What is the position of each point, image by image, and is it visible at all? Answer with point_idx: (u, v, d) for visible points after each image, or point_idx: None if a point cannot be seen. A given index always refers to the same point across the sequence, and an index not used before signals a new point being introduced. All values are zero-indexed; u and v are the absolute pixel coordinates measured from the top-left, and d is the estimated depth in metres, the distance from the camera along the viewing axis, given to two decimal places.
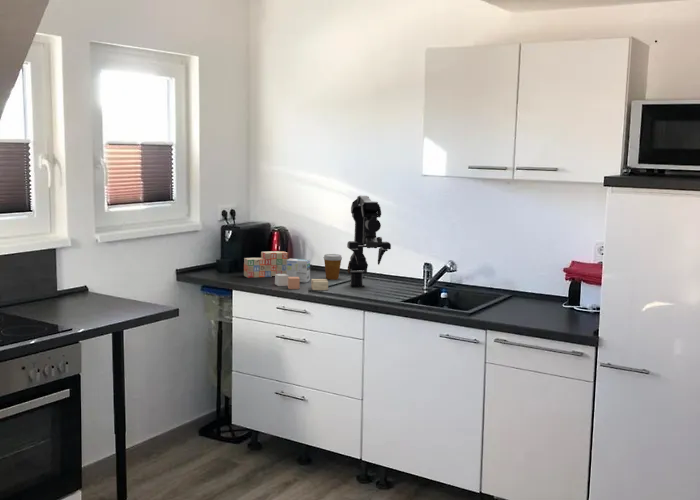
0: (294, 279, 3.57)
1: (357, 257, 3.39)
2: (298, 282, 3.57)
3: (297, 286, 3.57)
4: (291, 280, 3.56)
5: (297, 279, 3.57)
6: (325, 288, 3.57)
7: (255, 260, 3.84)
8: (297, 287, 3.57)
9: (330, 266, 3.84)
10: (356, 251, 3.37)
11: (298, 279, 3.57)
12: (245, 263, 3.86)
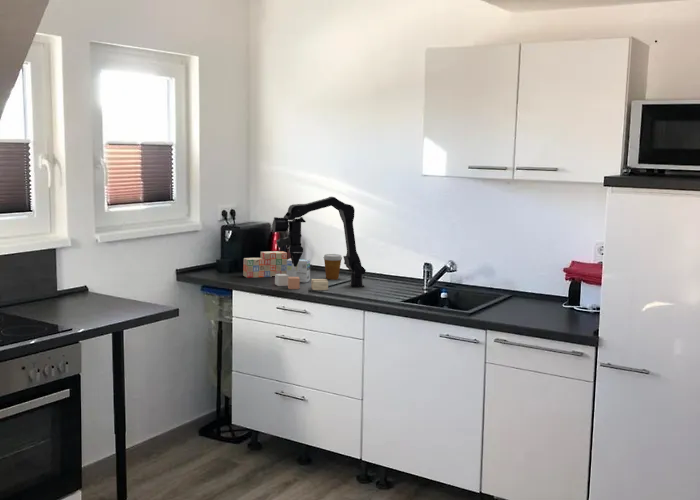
0: (294, 279, 3.57)
1: None
2: (298, 282, 3.57)
3: (297, 286, 3.57)
4: (291, 280, 3.56)
5: (297, 279, 3.57)
6: (325, 288, 3.57)
7: (254, 260, 3.84)
8: (297, 287, 3.57)
9: (330, 266, 3.84)
10: (288, 250, 3.63)
11: (298, 279, 3.57)
12: (244, 263, 3.86)
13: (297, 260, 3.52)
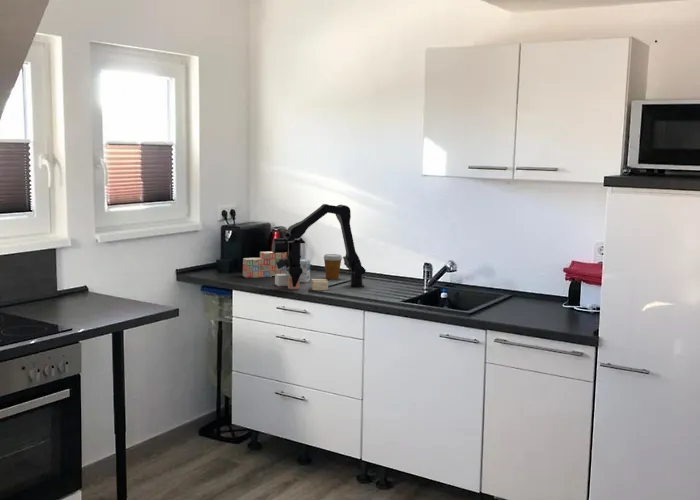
0: None
1: None
2: (298, 282, 3.57)
3: (297, 286, 3.57)
4: (291, 280, 3.56)
5: None
6: (325, 288, 3.57)
7: (254, 260, 3.84)
8: (297, 287, 3.57)
9: (330, 266, 3.84)
10: (288, 271, 3.62)
11: None
12: (244, 263, 3.86)
13: (296, 280, 3.56)
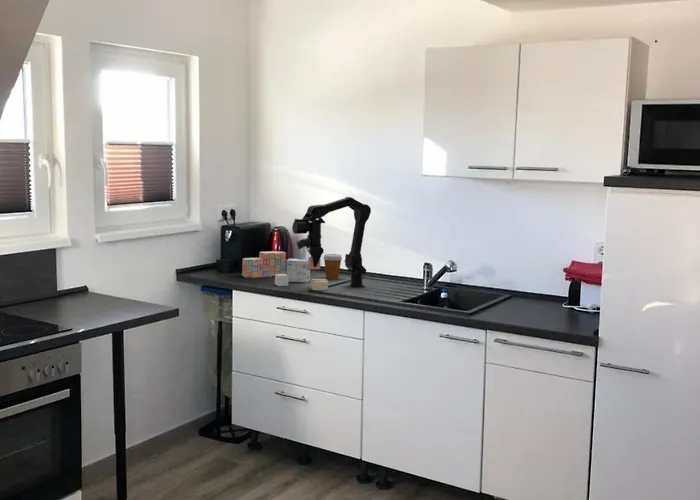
0: None
1: None
2: (319, 262, 3.56)
3: (318, 266, 3.56)
4: (312, 260, 3.55)
5: None
6: (325, 288, 3.57)
7: (253, 260, 3.84)
8: (318, 267, 3.56)
9: (330, 266, 3.84)
10: (308, 251, 3.61)
11: None
12: (243, 263, 3.86)
13: (317, 260, 3.55)
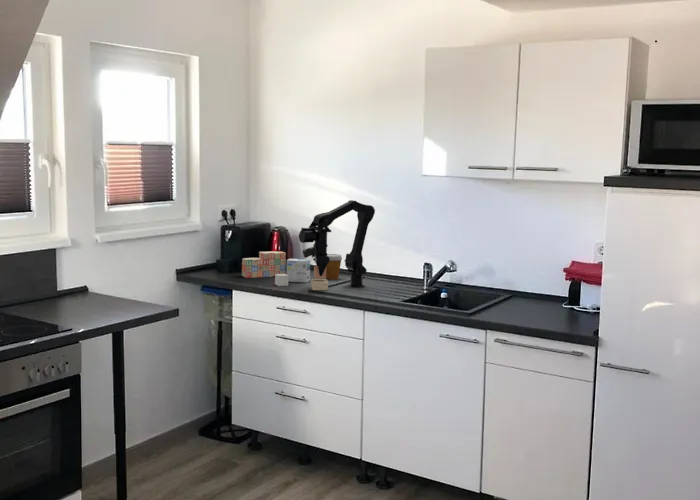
0: None
1: None
2: (325, 271, 3.57)
3: (324, 275, 3.57)
4: (318, 269, 3.56)
5: None
6: (325, 288, 3.57)
7: (253, 260, 3.84)
8: (324, 276, 3.57)
9: (330, 266, 3.84)
10: (314, 260, 3.62)
11: (325, 268, 3.56)
12: (243, 263, 3.86)
13: (323, 269, 3.55)
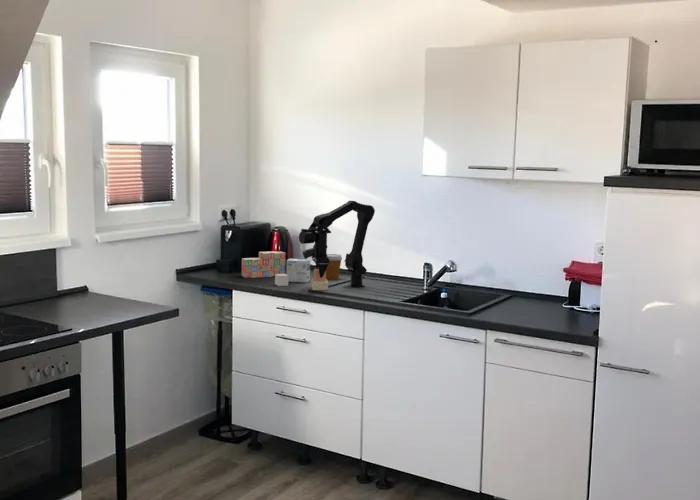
0: None
1: (316, 267, 3.63)
2: (324, 274, 3.57)
3: (323, 278, 3.57)
4: (317, 272, 3.56)
5: None
6: (325, 288, 3.57)
7: (253, 260, 3.84)
8: (323, 279, 3.57)
9: (330, 266, 3.84)
10: None
11: None
12: (243, 263, 3.85)
13: (323, 271, 3.53)
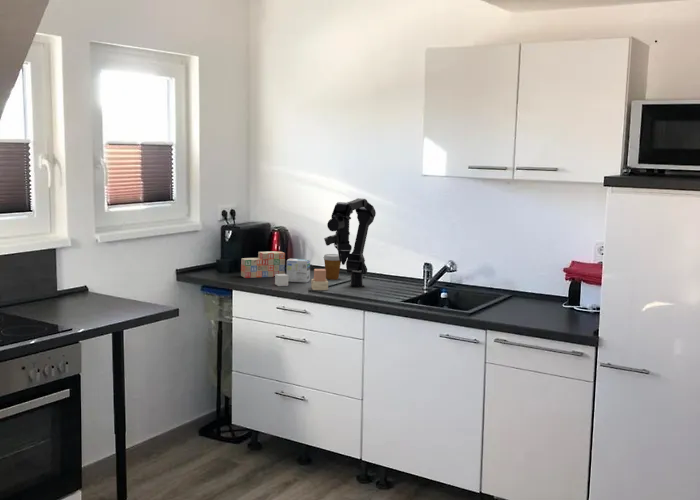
0: (320, 271, 3.56)
1: None
2: (324, 274, 3.57)
3: (323, 278, 3.57)
4: (317, 272, 3.56)
5: (323, 271, 3.57)
6: (325, 288, 3.57)
7: (252, 260, 3.83)
8: (323, 279, 3.57)
9: (330, 266, 3.84)
10: (336, 248, 3.59)
11: (324, 271, 3.57)
12: (242, 263, 3.85)
13: (345, 258, 3.49)
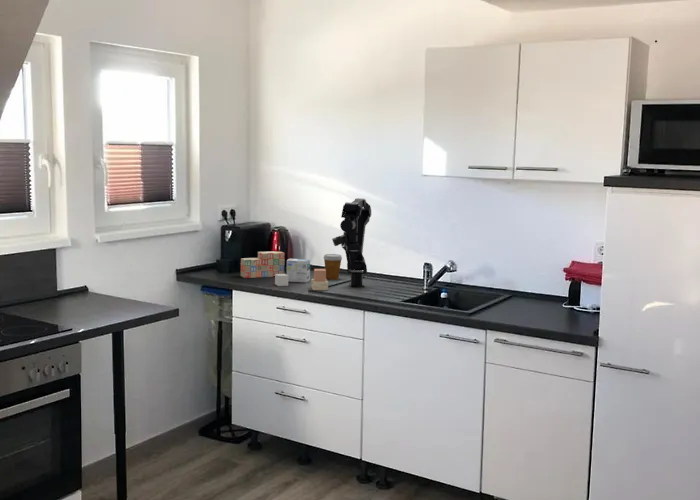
0: (320, 271, 3.56)
1: (346, 254, 3.58)
2: (324, 274, 3.57)
3: (323, 278, 3.57)
4: (317, 272, 3.56)
5: (323, 271, 3.57)
6: (325, 288, 3.57)
7: (252, 260, 3.83)
8: (323, 279, 3.57)
9: (330, 266, 3.84)
10: (343, 248, 3.58)
11: (324, 271, 3.57)
12: (242, 263, 3.85)
13: (354, 258, 3.48)
